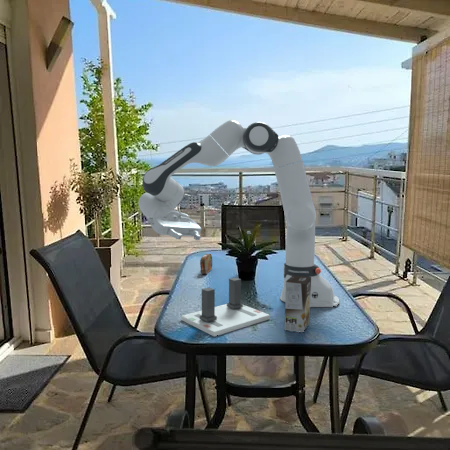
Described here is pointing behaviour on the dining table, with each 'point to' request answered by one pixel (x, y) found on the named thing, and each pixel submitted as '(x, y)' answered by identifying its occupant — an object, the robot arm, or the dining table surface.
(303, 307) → the coffee box
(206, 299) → the post
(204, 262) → the tin
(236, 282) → the post
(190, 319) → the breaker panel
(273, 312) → the dining table surface
